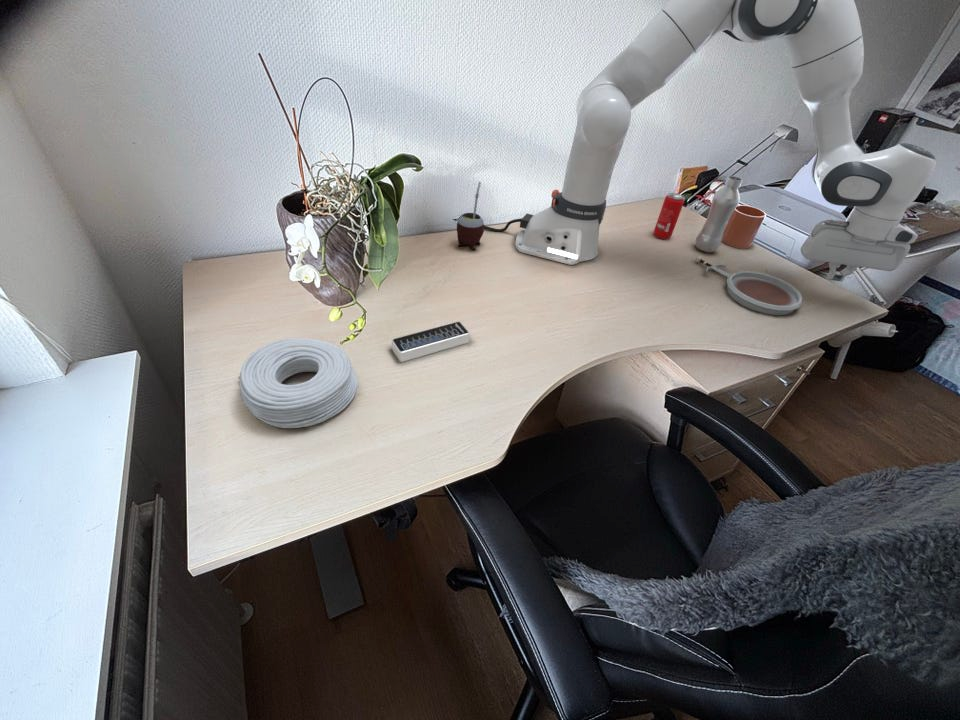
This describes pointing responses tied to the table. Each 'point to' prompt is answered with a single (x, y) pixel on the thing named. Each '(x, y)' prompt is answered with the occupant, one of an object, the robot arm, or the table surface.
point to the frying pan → (759, 291)
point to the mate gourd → (470, 227)
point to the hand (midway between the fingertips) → (833, 279)
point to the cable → (300, 400)
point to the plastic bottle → (719, 215)
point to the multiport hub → (430, 341)
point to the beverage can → (668, 215)
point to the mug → (743, 226)
